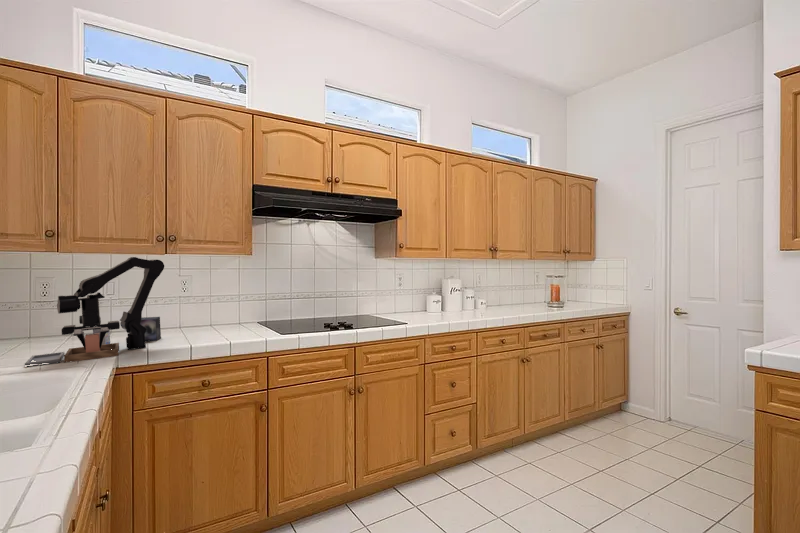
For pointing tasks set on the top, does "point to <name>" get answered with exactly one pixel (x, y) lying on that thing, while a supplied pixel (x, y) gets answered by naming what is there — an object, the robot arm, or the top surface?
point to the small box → (151, 328)
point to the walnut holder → (91, 353)
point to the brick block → (92, 342)
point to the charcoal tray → (46, 358)
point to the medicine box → (106, 337)
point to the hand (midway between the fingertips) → (93, 348)
